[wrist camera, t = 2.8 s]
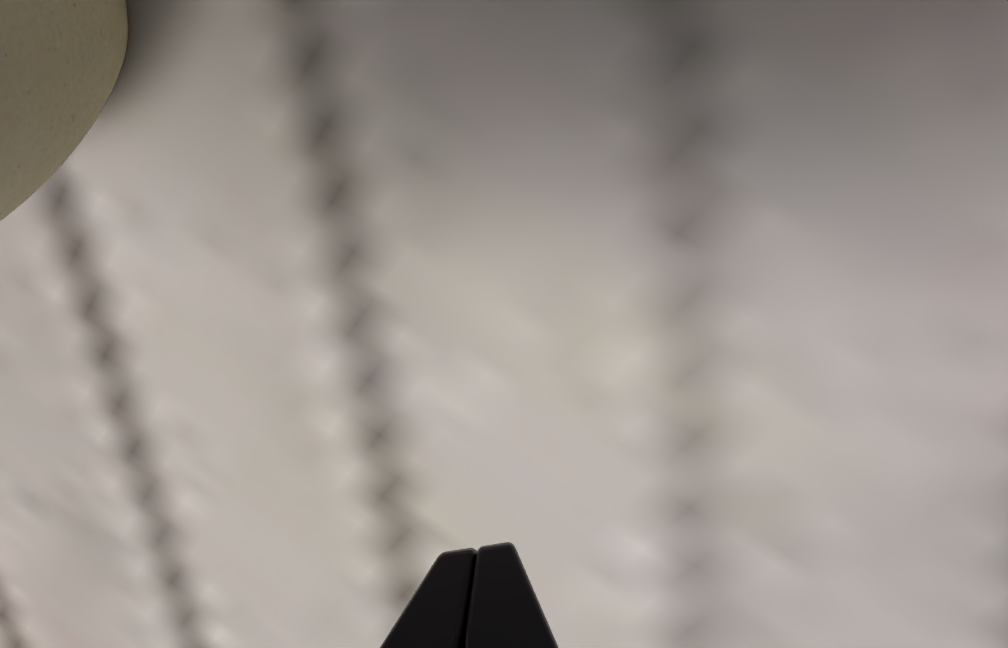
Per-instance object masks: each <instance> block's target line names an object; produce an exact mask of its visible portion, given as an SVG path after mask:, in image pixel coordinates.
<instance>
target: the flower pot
mask: <svg viewBox="0 0 1008 648" xmlns="http://www.w3.org/2000/svg"><path fill="white" fill-rule="evenodd" d="M127 38H128V19H127V7H126V1H125V0H0V221H1V220H2V219H4V218H5V217H6V216H7V215H9V214H10V213H11V212H12V211H14V210H15V209H16V208H17V207H18V206H20V205H21V204H22V203H23V202H24V201H25V200H27V199H28V198H29V197H30V196H31V195H32V194H33V193H34V192H36V191H37V190H38V189H39V188H40V187H41V186H42V185H43V184H44V183H45V182H46V181H47V180H48V179H49V178H50V177H51V176H52V175H53V174H54V173H55V172H56V171H57V169H58V168H59V167H60V166H61V165H62V164H63V163H64V162H65V161H66V160H67V158H68V157H69V156H70V155H71V153H72V152H73V151H74V149H75V148H76V147H77V146H78V144H79V143H80V142H81V141H82V139H83V138H84V137H85V135H86V134H87V132H88V131H89V129H90V128H91V127H92V125H93V124H94V122H95V121H96V119H97V117H98V116H99V114H100V113H101V111H102V109H103V107H104V105H105V103H106V101H107V99H108V98H109V96H110V94H111V92H112V89H113V87H114V85H115V83H116V80H117V78H118V76H119V73H120V70H121V67H122V64H123V61H124V57H125V53H126V48H127Z"/></svg>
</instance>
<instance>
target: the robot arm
mask: <svg viewBox="0 0 1008 648" xmlns="http://www.w3.org/2000/svg"><path fill="white" fill-rule="evenodd" d="M380 648H558V646H557V643H556V641H555V639H554V636H553V634H552V632H551V629H550V627H549V625H548V622H547V620H546V618H545V615H544V613H543V611H542V608H541V606H540V604H539V601H538V599H537V597H536V594H535V592H534V590H533V587H532V585H531V583H530V581H529V578H528V576H527V574H526V571H525V569H524V567H523V564H522V562H521V560H520V557H519V555H518V553H517V550H516V548H515V546H514V545H513V544H512V543H510V542H506V543H500V544H493V545H486V546H482V547H480V548H479V549H478V551H477V550H475V549H473V548H467V549H460V550H454V551H447V552H444V553H442V554H441V555H439V556H438V558H437V559H436V561H435V562H434V564H433V565H432V567H431V569H430V570H429V572H428V573H427V575H426V576H425V578H424V580H423V581H422V583H421V584H420V586H419V587H418V589H417V591H416V592H415V594H414V595H413V597H412V598H411V600H410V602H409V603H408V605H407V606H406V608H405V609H404V611H403V613H402V614H401V616H400V617H399V619H398V620H397V622H396V624H395V625H394V627H393V628H392V630H391V631H390V633H389V635H388V636H387V638H386V639H385V641H384V642H383V644H382V646H381V647H380Z"/></svg>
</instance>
